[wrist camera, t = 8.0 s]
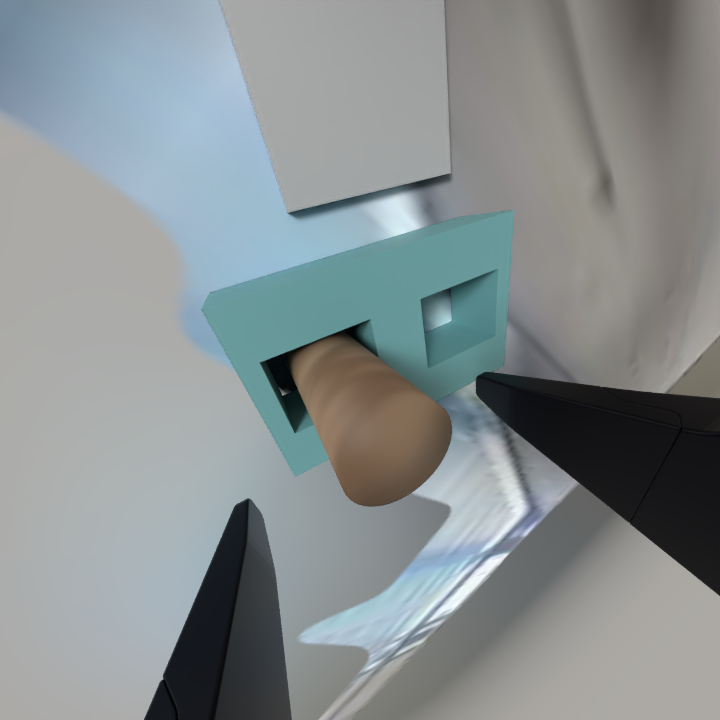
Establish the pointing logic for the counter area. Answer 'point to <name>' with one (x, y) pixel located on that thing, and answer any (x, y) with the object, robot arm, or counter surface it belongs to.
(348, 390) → the walnut peg
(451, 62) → the counter surface
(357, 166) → the rubber mat
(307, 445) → the hole block
